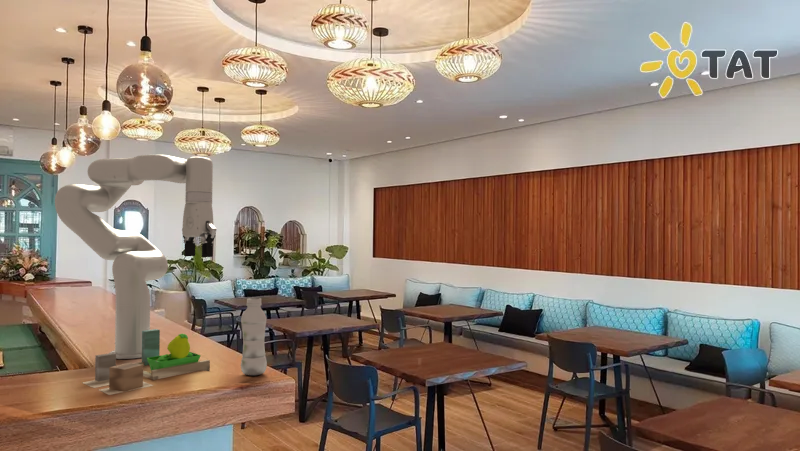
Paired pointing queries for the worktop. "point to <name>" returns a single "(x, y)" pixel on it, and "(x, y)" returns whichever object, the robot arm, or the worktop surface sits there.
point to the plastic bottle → (253, 338)
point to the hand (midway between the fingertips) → (198, 256)
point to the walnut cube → (125, 377)
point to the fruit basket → (175, 354)
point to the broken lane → (109, 391)
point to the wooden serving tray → (153, 349)
